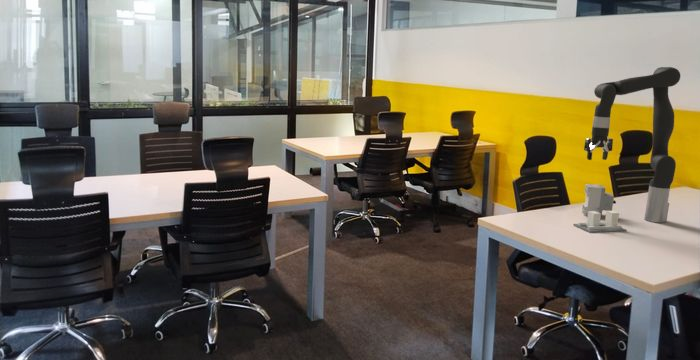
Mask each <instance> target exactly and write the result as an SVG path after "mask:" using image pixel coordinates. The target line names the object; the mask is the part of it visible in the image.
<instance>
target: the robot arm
mask: <svg viewBox="0 0 700 360" xmlns="http://www.w3.org/2000/svg"><path fill="white" fill-rule="evenodd" d="M680 80H681V72H680V71H679V70H678V69H677V68H675V67H672V66H665V67H664V66H661V67H657V68H656V69H655V70H654V71H653V74H649V75H643V76H642V75H641V76H635V77H628V78H624V79H619V80H617V81H609V82H603V83H600V84H598V85H597V86H596V87H595V88H594V93H593V94H594V95H595V96H596V98H598V99H600V101H599V104H596V105H595V108H594V115H593V120H592V128H591V138H590V137H589V138H588V137H586V138H585V142H584V147H583V150H584V151H586V152H587V153H586V159H587V160H589V161H592V160H593V152H594V150H595V149H596V148H601V149H602V157H601V158H602V160H605V161H606V160H607V159H608V156H609V152H612V151H613V144H614V139H613V138H611V137H610V138H609V134H610V133H609V132H610V126H611V124H610V123H611V113H612V112H611V110H612V107H613V105H614V102H615V100H616V96H624V95H628V94H633V93H636V92H641V91H644V90H650V89H652V93H653V104H652V105H653V112H652V113H653V115H652V148H651V155H650V161H649V162H650V167H651V168H652V170H653V171H654V175H653V178H652V179H650V180H649V185H648V191H647V192H648V193H647V198H646V199H647V200H646V205H645V206H646V207H645V213H644V220H645V221H648V222H651V223H657V224H658V223H660V224H662V223H665V222H667V221H668V214H669V207H670V202H669V197H670V191H671V186H672V183H673V182H674V178H675V173H676V166H677V165H676V160H675V158H674V157H673V156H670V155H669V142H670V139H671V136H672V134H673V132H674V128H675V111H674V108H673V106H672V104H671V101H670V98H669V97H670V96H669V87H670V88H671V87H673V86H676V85H677V84H678V83H679V82H680Z"/></svg>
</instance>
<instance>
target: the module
mask: <svg viewBox="0 0 700 360" xmlns="http://www.w3.org/2000/svg"><path fill="white" fill-rule="evenodd" d="M601 218H602V217H601V213H598V212H596V211H588V216H587V219H586V220H587V221H586V222H587V226H588V227H590V226H599V224H600V222H601Z"/></svg>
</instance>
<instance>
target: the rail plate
mask: <svg viewBox="0 0 700 360" xmlns="http://www.w3.org/2000/svg"><path fill="white" fill-rule="evenodd" d="M605 212H606V213H605V218H604V219H605V220H604V221H600V224H599V226H590V227H588V226H587V221H586V222H585V221H584V222H578V223H573V226H574V227H576V228H578V229H580V230H583V231H585V232H587V233H590V234H591V233H593V234H594V233H617V232H618V233H621V232H627V231H628V230H627V229H626V228H623V225H618V224H619V216H620V213H619V212H618V211H615V210H612V211H605Z"/></svg>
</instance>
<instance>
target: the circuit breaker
mask: <svg viewBox="0 0 700 360" xmlns="http://www.w3.org/2000/svg"><path fill="white" fill-rule="evenodd" d="M584 194H585V200H584V201H585V202H584V203H582V210H581V213H582V215H583V216H585V217H588V211H596V212H598V213H601V217H600V218H603V217H602V216H603V211H605V212H606V211H613V206H614V205H615V204H616V203H617V201H616V200H615V198H614V197H615V196H614V195H613V194H612V193H610V192H606V187H605V186H604V185H601V184H590V183H588V184H587V183H585V187H584Z"/></svg>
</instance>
